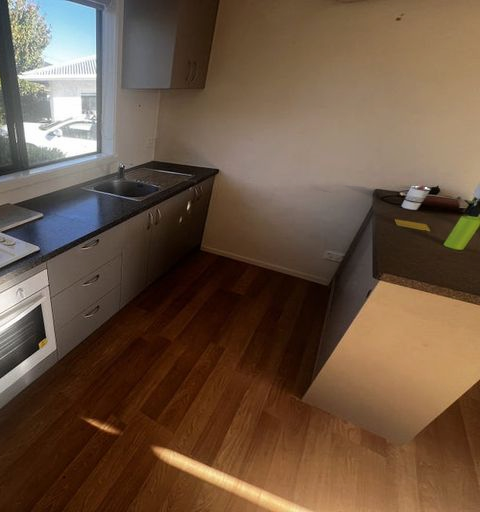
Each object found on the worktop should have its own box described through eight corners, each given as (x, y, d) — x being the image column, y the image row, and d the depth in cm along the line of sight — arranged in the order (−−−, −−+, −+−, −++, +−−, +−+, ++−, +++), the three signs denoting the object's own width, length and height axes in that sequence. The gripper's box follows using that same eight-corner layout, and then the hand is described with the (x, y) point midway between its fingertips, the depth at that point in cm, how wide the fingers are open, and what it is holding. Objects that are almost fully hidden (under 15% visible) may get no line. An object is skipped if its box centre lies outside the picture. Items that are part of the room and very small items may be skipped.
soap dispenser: (437, 242, 129) (465, 198, 120) (459, 246, 126) (489, 201, 117) (443, 246, 125) (472, 202, 115) (465, 250, 122) (497, 205, 112)
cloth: (426, 224, 147) (426, 224, 147) (430, 231, 140) (430, 230, 140) (394, 219, 153) (394, 219, 153) (396, 225, 146) (397, 225, 146)
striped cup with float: (423, 211, 164) (436, 190, 158) (406, 209, 166) (418, 189, 160) (411, 205, 173) (423, 185, 167) (395, 204, 174) (406, 184, 168)
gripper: (522, 174, 103) (488, 222, 112) (509, 167, 113) (480, 211, 122) (490, 171, 107) (460, 218, 116) (480, 164, 118) (454, 207, 127)
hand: (470, 214), depth 119 cm, fingers closed on soap dispenser, 3 cm apart
